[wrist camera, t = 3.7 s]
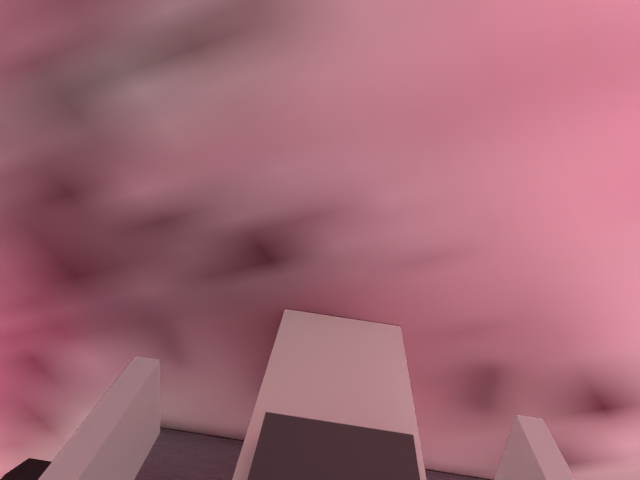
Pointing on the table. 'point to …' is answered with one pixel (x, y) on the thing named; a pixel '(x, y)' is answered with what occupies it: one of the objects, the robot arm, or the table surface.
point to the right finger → (333, 405)
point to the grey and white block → (208, 458)
